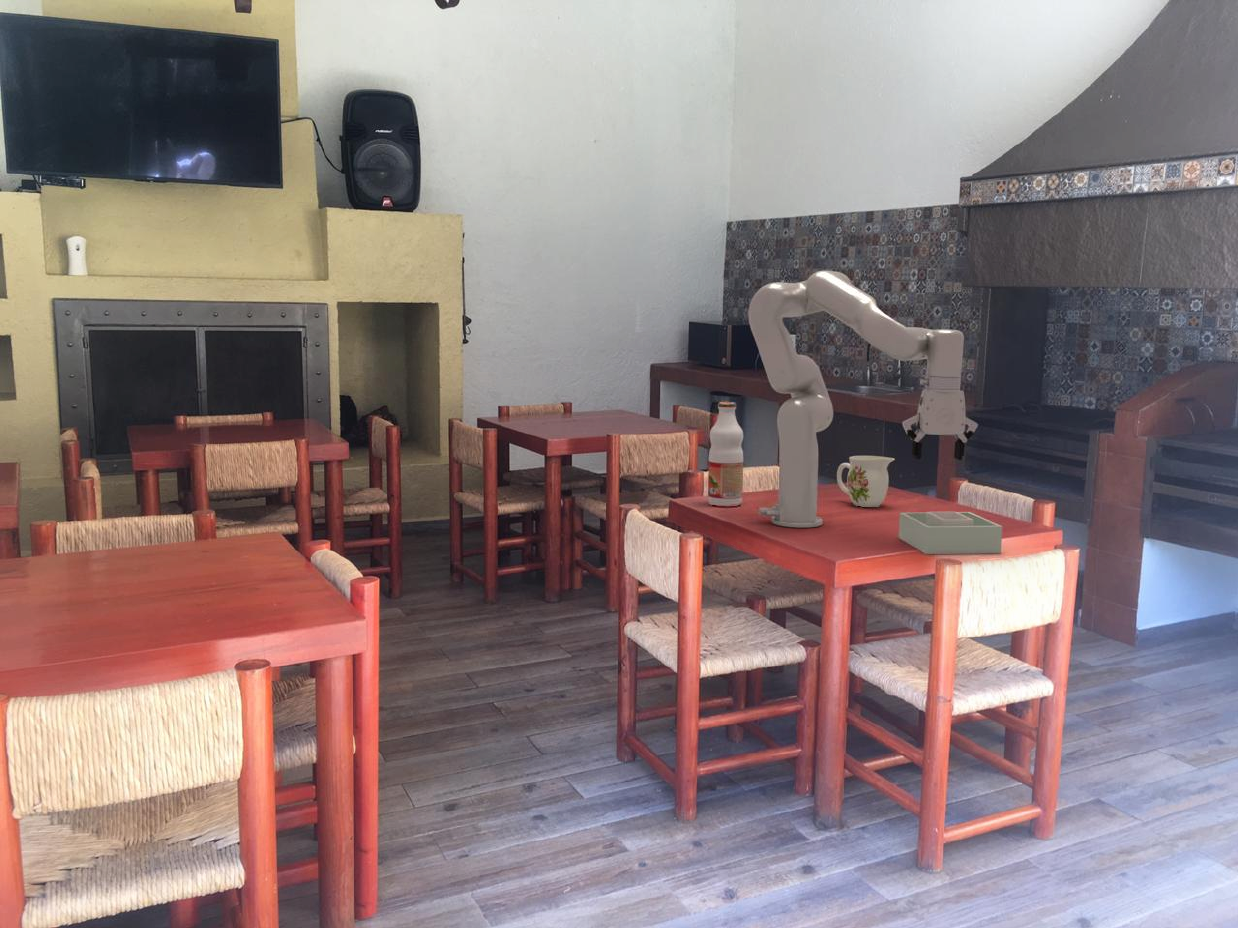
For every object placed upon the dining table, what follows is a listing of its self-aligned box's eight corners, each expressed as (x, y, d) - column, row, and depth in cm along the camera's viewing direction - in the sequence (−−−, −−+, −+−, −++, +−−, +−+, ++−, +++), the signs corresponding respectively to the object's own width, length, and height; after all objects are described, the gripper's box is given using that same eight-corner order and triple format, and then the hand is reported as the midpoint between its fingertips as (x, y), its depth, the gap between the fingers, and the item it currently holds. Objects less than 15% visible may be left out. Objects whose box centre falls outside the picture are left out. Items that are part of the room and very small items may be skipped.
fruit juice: (737, 508, 285) (739, 404, 281) (703, 506, 288) (705, 403, 285) (745, 503, 294) (748, 401, 290) (712, 500, 297) (714, 400, 293)
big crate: (925, 554, 233) (927, 527, 232) (898, 537, 249) (899, 512, 248) (1000, 553, 234) (1002, 526, 233) (968, 537, 251) (970, 512, 250)
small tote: (941, 546, 236) (943, 520, 236) (924, 537, 246) (926, 511, 245) (972, 546, 237) (973, 519, 236) (954, 536, 247) (955, 511, 246)
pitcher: (848, 498, 302) (850, 450, 300) (903, 507, 289) (905, 457, 287) (824, 503, 295) (826, 454, 293) (880, 512, 282) (882, 460, 280)
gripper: (911, 385, 237) (906, 460, 240) (986, 386, 238) (980, 462, 241) (900, 382, 244) (895, 455, 247) (973, 383, 246) (967, 457, 248)
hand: (937, 458), depth 244 cm, fingers open, 9 cm apart
